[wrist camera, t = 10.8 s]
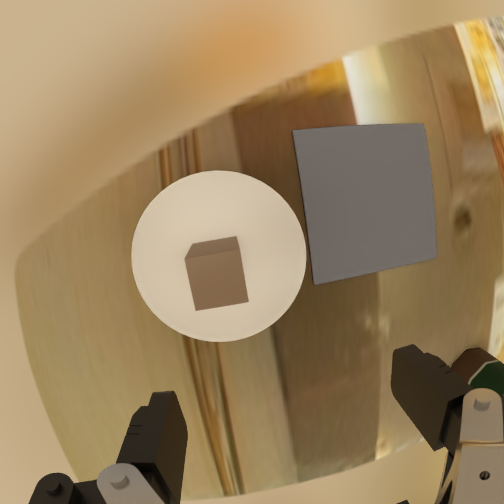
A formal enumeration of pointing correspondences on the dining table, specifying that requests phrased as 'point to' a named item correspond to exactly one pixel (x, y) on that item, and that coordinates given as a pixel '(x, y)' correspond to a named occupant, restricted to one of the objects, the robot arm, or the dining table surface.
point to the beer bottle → (480, 370)
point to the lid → (218, 256)
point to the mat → (366, 198)
